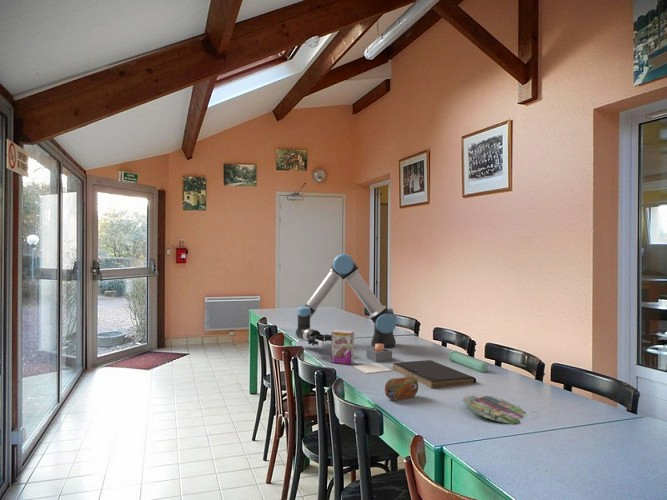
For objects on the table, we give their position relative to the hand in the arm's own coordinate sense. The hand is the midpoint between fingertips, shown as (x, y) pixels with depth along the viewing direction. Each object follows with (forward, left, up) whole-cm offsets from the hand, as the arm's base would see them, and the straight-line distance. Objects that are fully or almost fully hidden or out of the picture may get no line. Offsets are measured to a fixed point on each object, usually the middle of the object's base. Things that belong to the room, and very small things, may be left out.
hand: (332, 342), depth 246 cm
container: (-59, +39, -9) cm, 71 cm away
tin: (0, +69, -9) cm, 70 cm away
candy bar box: (-2, +9, -9) cm, 13 cm away
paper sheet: (-11, +25, -9) cm, 29 cm away
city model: (-23, +96, -10) cm, 99 cm away
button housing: (-24, +9, -9) cm, 27 cm away
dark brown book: (-31, +47, -10) cm, 57 cm away
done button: (-24, +9, -6) cm, 26 cm away
